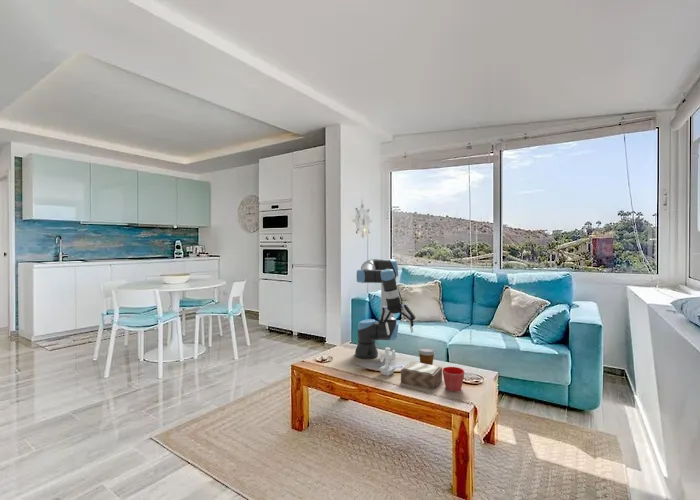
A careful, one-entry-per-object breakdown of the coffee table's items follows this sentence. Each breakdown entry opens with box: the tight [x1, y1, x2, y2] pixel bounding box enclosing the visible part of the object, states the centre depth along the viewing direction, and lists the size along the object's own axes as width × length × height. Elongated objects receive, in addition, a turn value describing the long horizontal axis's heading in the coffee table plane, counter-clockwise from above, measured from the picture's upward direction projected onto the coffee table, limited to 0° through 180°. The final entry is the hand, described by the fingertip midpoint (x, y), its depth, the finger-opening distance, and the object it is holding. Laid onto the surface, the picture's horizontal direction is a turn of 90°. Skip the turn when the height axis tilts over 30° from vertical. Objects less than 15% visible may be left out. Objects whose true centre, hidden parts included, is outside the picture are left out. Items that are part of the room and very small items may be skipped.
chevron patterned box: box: [400, 361, 443, 390], centre depth 201 cm, size 18×15×8 cm
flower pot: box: [442, 366, 465, 393], centre depth 191 cm, size 11×11×10 cm
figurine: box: [378, 347, 397, 376], centre depth 212 cm, size 7×9×15 cm
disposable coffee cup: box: [418, 347, 436, 365], centre depth 219 cm, size 10×10×12 cm
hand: (400, 333), depth 208 cm, fingers open, 13 cm apart
